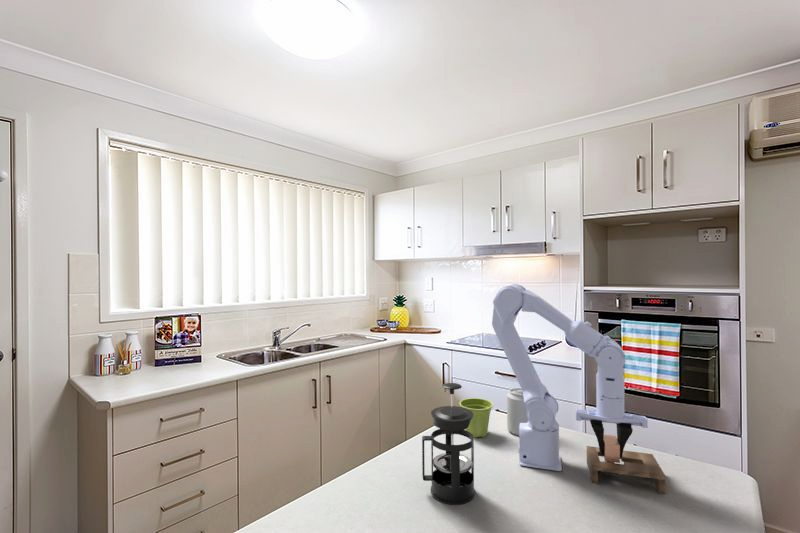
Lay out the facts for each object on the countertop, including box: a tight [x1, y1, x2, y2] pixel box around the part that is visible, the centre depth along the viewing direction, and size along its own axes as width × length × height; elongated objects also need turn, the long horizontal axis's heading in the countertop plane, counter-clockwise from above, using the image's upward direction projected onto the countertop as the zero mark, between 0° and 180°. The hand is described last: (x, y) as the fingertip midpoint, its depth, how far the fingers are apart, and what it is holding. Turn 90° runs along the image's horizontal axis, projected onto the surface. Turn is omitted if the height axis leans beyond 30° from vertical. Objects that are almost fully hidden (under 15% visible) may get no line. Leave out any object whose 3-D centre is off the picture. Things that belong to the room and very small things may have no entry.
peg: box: [601, 434, 621, 476], centre depth 93 cm, size 4×5×7 cm
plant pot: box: [459, 397, 494, 438], centre depth 116 cm, size 9×9×9 cm
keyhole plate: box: [586, 445, 666, 495], centre depth 92 cm, size 14×10×4 cm
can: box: [506, 387, 528, 437], centre depth 117 cm, size 8×8×12 cm
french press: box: [421, 382, 476, 506], centre depth 86 cm, size 12×9×23 cm
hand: (610, 454), depth 93 cm, fingers closed on peg, 3 cm apart
